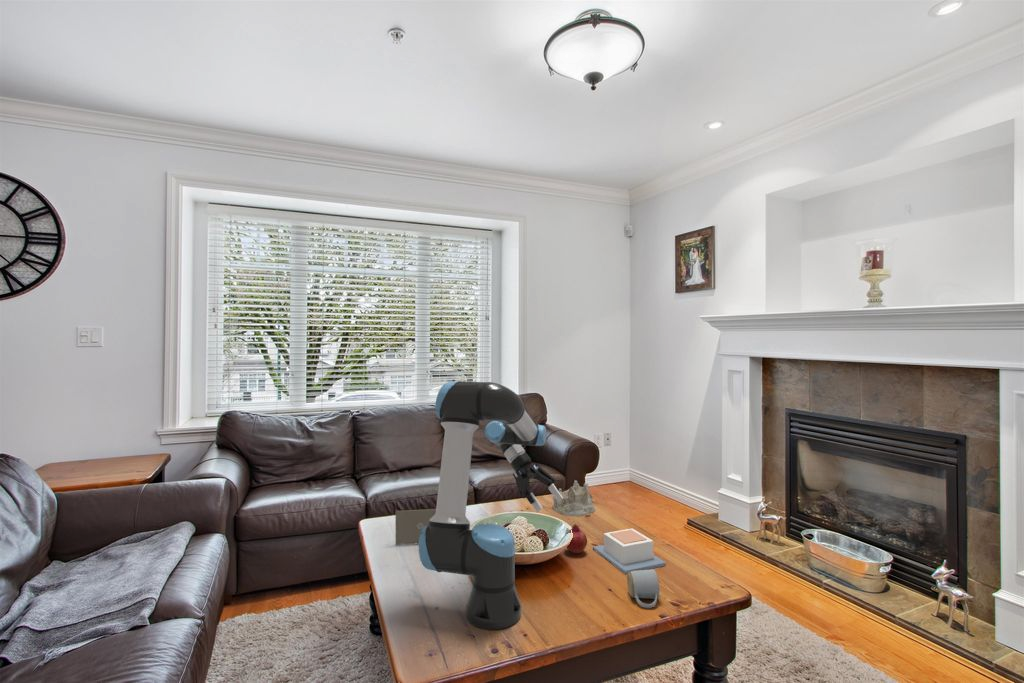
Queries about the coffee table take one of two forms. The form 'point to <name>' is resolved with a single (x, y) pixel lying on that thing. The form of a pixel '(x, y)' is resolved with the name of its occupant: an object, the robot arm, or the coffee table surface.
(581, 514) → the miniature stone castle
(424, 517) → the laptop
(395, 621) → the coffee table surface
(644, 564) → the pedestal board
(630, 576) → the ceramic mug
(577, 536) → the fruit
